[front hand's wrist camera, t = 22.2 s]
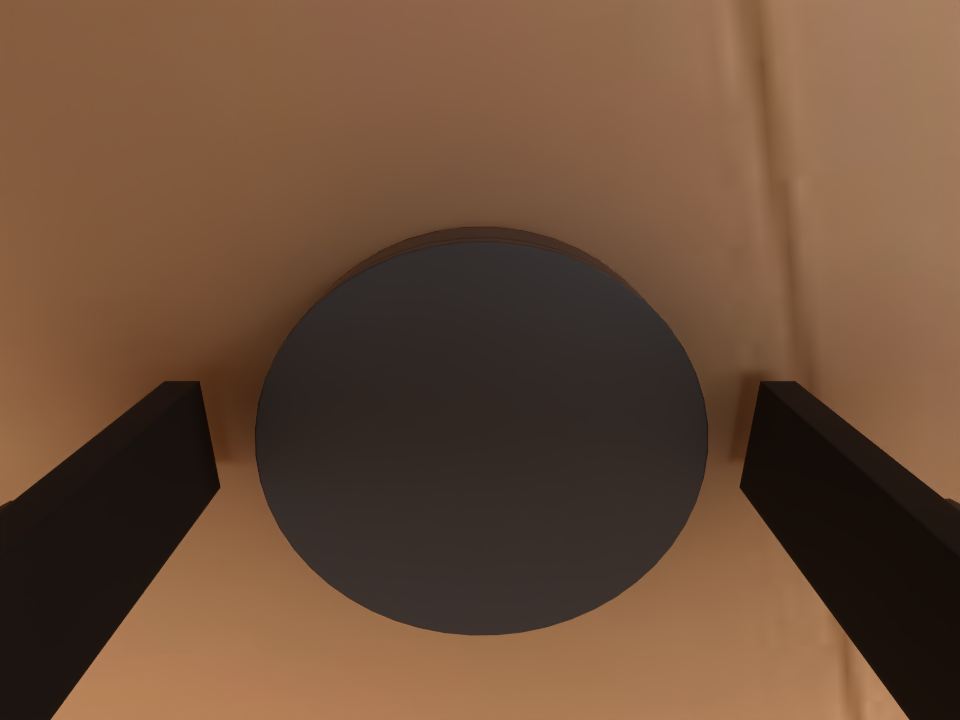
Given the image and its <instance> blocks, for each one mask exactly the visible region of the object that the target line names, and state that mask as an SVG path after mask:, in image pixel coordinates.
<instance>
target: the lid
mask: <svg viewBox="0 0 960 720" xmlns="http://www.w3.org/2000/svg"><path fill="white" fill-rule="evenodd" d="M255 448H256V460H257V466H258V472H259V477H260V482H261V485H262V488H263V491H264V494H265V497H266V500H267V503H268V506H269V508H270V510H271V512H272V514H273V516H274V518H275V520H276V522H277V524H278V526H279V528H280V530H281V531H282V532H283V534H284V535H285V537H286V538H287V540H288V541H289V543H290V544H291V546H292V547H293V549H294V550H295V551H296V552H297V553H298V554H299V556H300V557H301V558H302V559H303V560H304V561H305V562H306V563H307V565H308V566H309V567H310V568H311V569H312V570H313V571H315V572H316V573H317V574H318V575H319V576H320V577H321V578H322V579H324V580H325V581H326V582H327V583H328V584H329V585H331V586H332V587H333V588H335V589H336V590H338V591H339V592H341V593H342V594H343V595H345V596H346V597H348V598H349V599H351V600H353V601H354V602H356V603H358V604H360V605H362V606H364V607H365V608H367V609H369V610H371V611H373V612H375V613H378V614H380V615H383V616H385V617H387V618H390V619H392V620H395V621H398V622H401V623H404V624H408V625H411V626H414V627H418V628H422V629H427V630H432V631H437V632H443V633H451V634H462V635H502V634H511V633H520V632H526V631H531V630H535V629H540V628H545V627H549V626H552V625H555V624H558V623H561V622H565V621H568V620H571V619H573V618H576V617H578V616H580V615H582V614H585V613H587V612H589V611H592V610H594V609H596V608H598V607H599V606H601V605H603V604H605V603H606V602H608V601H610V600H612V599H613V598H615V597H617V596H618V595H620V594H621V593H622V592H624V591H625V590H626V589H628V588H629V587H631V586H632V585H633V584H635V583H636V582H637V581H638V580H639V579H641V578H642V577H643V576H644V575H645V574H646V573H647V572H648V571H649V570H650V569H651V568H653V567H654V566H655V565H656V564H657V562H658V561H659V560H660V559H661V558H662V556H663V555H664V554H665V553H666V552H667V551H668V549H669V548H670V547H671V546H672V544H673V543H674V541H675V540H676V538H677V537H678V535H679V534H680V532H681V531H682V529H683V528H684V526H685V524H686V522H687V520H688V518H689V516H690V514H691V512H692V510H693V508H694V505H695V503H696V501H697V498H698V495H699V491H700V488H701V485H702V482H703V478H704V473H705V467H706V460H707V454H708V422H707V415H706V409H705V402H704V397H703V394H702V391H701V388H700V384H699V381H698V378H697V375H696V372H695V370H694V368H693V366H692V364H691V362H690V360H689V358H688V356H687V354H686V352H685V350H684V348H683V346H682V345H681V343H680V342H679V340H678V339H677V338H676V336H675V335H674V333H673V332H672V330H671V329H670V327H669V326H668V325H667V323H666V322H665V321H664V320H663V319H662V318H661V317H660V316H659V315H658V314H657V313H656V312H655V311H654V310H653V309H652V307H651V306H650V305H649V304H648V303H647V302H646V301H645V300H644V299H643V298H642V297H641V296H640V295H639V294H638V293H637V292H636V291H635V290H634V289H633V288H632V287H631V286H630V285H629V284H628V283H627V282H626V281H625V280H624V279H623V278H621V277H620V276H619V275H618V274H616V273H615V272H614V271H613V270H611V269H610V268H609V267H608V266H606V265H605V264H604V263H602V262H600V261H599V260H597V259H595V258H593V257H592V256H590V255H588V254H587V253H585V252H583V251H581V250H580V249H577V248H575V247H573V246H570V245H568V244H565V243H563V242H560V241H558V240H556V239H553V238H550V237H546V236H542V235H538V234H534V233H531V232H527V231H522V230H514V229H506V228H498V227H464V228H457V229H450V230H443V231H436V232H432V233H428V234H425V235H421V236H418V237H414V238H411V239H407V240H405V241H402V242H400V243H398V244H395V245H393V246H391V247H389V248H386V249H384V250H382V251H380V252H378V253H376V254H375V255H373V256H371V257H370V258H368V259H367V260H365V261H363V262H362V263H360V264H358V265H357V266H355V267H354V268H353V269H352V270H350V271H349V272H348V273H347V274H346V275H344V276H343V277H342V278H341V279H339V280H338V281H337V282H336V283H335V284H334V285H333V286H332V287H331V288H330V289H329V290H328V291H327V292H326V293H325V294H324V295H323V296H322V297H321V298H320V299H319V300H318V301H317V302H316V303H315V305H314V306H313V307H312V308H311V309H310V310H309V311H308V312H307V313H306V314H305V316H304V317H303V318H302V319H301V320H300V321H299V322H298V323H297V324H296V325H295V327H294V328H293V329H292V331H291V332H290V334H289V335H288V337H287V338H286V340H285V341H284V343H283V344H282V346H281V347H280V349H279V350H278V352H277V354H276V356H275V359H274V361H273V363H272V365H271V367H270V369H269V371H268V374H267V376H266V378H265V382H264V385H263V389H262V392H261V396H260V399H259V403H258V410H257V418H256V426H255Z"/></svg>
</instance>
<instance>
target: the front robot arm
mask: <svg viewBox="0 0 960 720" xmlns="http://www.w3.org/2000/svg"><path fill="white" fill-rule="evenodd" d="M219 489H220V483H219V478H218V473H217V468H216V463H215V457H214V452H213V447H212V442H211V437H210V432H209V427H208V422H207V417H206V412H205V407H204V402H203V397H202V391H201V386H200V381H165V382H163V383H162V384H161V385H159V386H158V387H157V388H156V389H154V390H153V391H152V392H151V393H149V394H148V395H147V396H146V397H144V398H143V399H142V400H140V401H139V402H138V403H137V404H135V405H134V406H133V407H132V408H130V409H129V410H128V411H127V412H125V413H124V414H123V415H121V416H120V417H119V418H118V419H116V420H115V421H114V422H113V423H111V424H110V425H109V426H108V427H106V428H105V429H104V430H102V431H101V432H100V433H99V434H97V435H96V436H95V437H94V438H92V439H91V440H90V441H89V442H87V443H86V444H85V445H83V446H82V447H81V448H80V449H78V450H77V451H76V452H75V453H73V454H72V455H71V456H70V457H68V458H67V459H66V460H64V461H63V462H62V463H61V464H59V465H58V466H57V467H56V468H54V469H53V470H52V471H51V472H49V473H48V474H47V475H45V476H44V477H43V478H42V479H40V480H39V481H38V482H37V483H35V484H34V485H33V486H32V487H30V488H29V489H28V490H26V491H25V492H24V493H23V494H21V495H20V496H19V497H18V498H16V499H15V500H14V501H9V502H7V503H5V504H4V505H2V506H0V720H51V718H52V717H53V716H54V714H55V713H56V712H57V710H58V709H59V707H60V706H61V705H62V703H63V702H64V701H65V699H66V698H67V696H68V695H69V694H70V692H71V691H72V690H73V688H74V687H75V686H76V684H77V683H78V681H79V680H80V679H81V677H82V676H83V675H84V673H85V672H86V670H87V669H88V668H89V666H90V665H91V664H92V662H93V661H94V660H95V658H96V657H97V655H98V654H99V653H100V651H101V650H102V649H103V647H104V646H105V645H106V643H107V642H108V640H109V639H110V638H111V636H112V635H113V634H114V632H115V631H116V629H117V628H118V627H119V625H120V624H121V623H122V621H123V620H124V619H125V617H126V616H127V614H128V613H129V612H130V610H131V609H132V608H133V606H134V605H135V603H136V602H137V601H138V599H139V598H140V597H141V595H142V594H143V593H144V591H145V590H146V588H147V587H148V586H149V584H150V583H151V582H152V580H153V579H154V578H155V576H156V575H157V573H158V572H159V571H160V569H161V568H162V567H163V565H164V564H165V562H166V561H167V560H168V558H169V557H170V556H171V554H172V553H173V552H174V550H175V549H176V547H177V546H178V545H179V543H180V542H181V541H182V539H183V538H184V536H185V535H186V534H187V532H188V531H189V530H190V528H191V527H192V526H193V524H194V523H195V521H196V520H197V519H198V517H199V516H200V515H201V513H202V512H203V511H204V509H205V508H206V506H207V505H208V504H209V502H210V501H211V500H212V498H213V497H214V495H215V494H216V493H217V491H218V490H219ZM740 489H741V490H742V491H743V493H744V494H745V495H746V497H747V498H748V500H749V501H750V502H751V504H752V505H753V506H754V508H755V509H756V511H757V512H758V513H759V515H760V516H761V517H762V519H763V520H764V521H765V523H766V524H767V526H768V527H769V528H770V530H771V531H772V532H773V534H774V535H775V537H776V538H777V539H778V541H779V542H780V543H781V545H782V546H783V547H784V549H785V550H786V552H787V553H788V554H789V556H790V557H791V558H792V560H793V561H794V562H795V564H796V565H797V567H798V568H799V569H800V571H801V572H802V573H803V575H804V576H805V578H806V579H807V580H808V582H809V583H810V584H811V586H812V587H813V588H814V590H815V591H816V593H817V594H818V595H819V597H820V598H821V599H822V601H823V602H824V604H825V605H826V606H827V608H828V609H829V610H830V612H831V613H832V614H833V616H834V617H835V619H836V620H837V621H838V623H839V624H840V625H841V627H842V628H843V629H844V631H845V632H846V634H847V635H848V636H849V638H850V639H851V640H852V642H853V643H854V645H855V646H856V647H857V649H858V650H859V651H860V653H861V654H862V655H863V657H864V658H865V660H866V661H867V662H868V664H869V665H870V666H871V668H872V669H873V670H874V672H875V673H876V675H877V676H878V677H879V679H880V680H881V681H882V683H883V684H884V686H885V687H886V688H887V690H888V691H889V692H890V694H891V695H892V696H893V698H894V699H895V701H896V702H897V703H898V705H899V706H900V707H901V709H902V710H903V712H904V713H905V714H906V716H907V717H908V718H909V720H960V504H959V503H957V502H955V501H953V500H951V499H944V498H942V497H941V496H940V495H939V494H937V493H936V492H935V491H934V490H932V489H931V488H930V487H928V486H927V485H926V484H925V483H923V482H922V481H921V480H920V479H918V478H917V477H916V476H915V475H913V474H912V473H911V472H909V471H908V470H907V469H906V468H904V467H903V466H902V465H901V464H899V463H898V462H897V461H896V460H894V459H893V458H892V457H890V456H889V455H888V454H887V453H885V452H884V451H883V450H882V449H880V448H879V447H878V446H877V445H875V444H874V443H873V442H871V441H870V440H869V439H868V438H866V437H865V436H864V435H863V434H861V433H860V432H859V431H858V430H856V429H855V428H854V427H852V426H851V425H850V424H849V423H847V422H846V421H845V420H844V419H842V418H841V417H840V416H839V415H837V414H836V413H835V412H833V411H832V410H831V409H830V408H828V407H827V406H826V405H825V404H823V403H822V402H821V401H820V400H818V399H817V398H816V397H814V396H813V395H812V394H811V393H809V392H808V391H807V390H806V389H804V388H803V387H802V386H801V385H799V384H798V383H797V382H795V381H760V386H759V391H758V397H757V402H756V407H755V412H754V417H753V422H752V427H751V432H750V437H749V442H748V447H747V452H746V457H745V463H744V468H743V473H742V478H741V483H740Z"/></svg>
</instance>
